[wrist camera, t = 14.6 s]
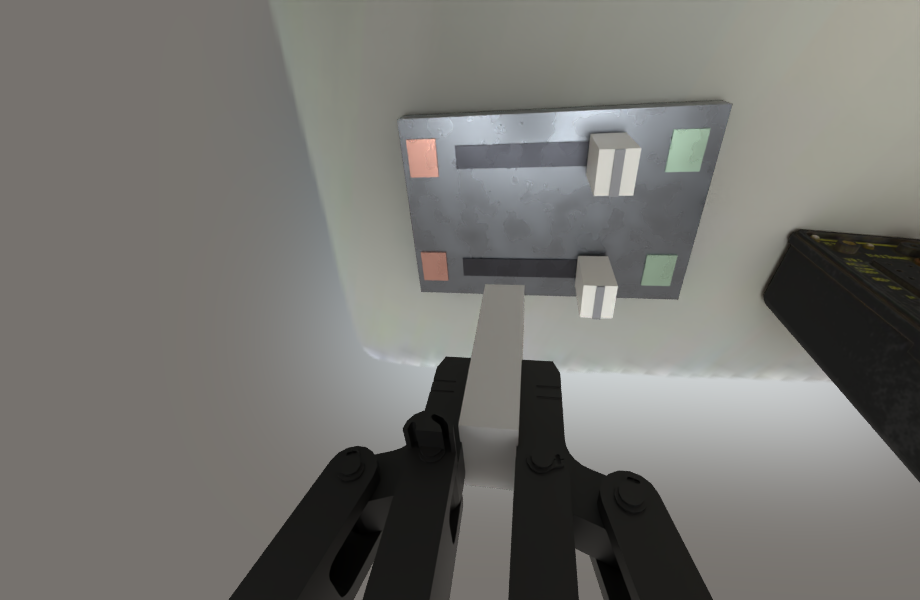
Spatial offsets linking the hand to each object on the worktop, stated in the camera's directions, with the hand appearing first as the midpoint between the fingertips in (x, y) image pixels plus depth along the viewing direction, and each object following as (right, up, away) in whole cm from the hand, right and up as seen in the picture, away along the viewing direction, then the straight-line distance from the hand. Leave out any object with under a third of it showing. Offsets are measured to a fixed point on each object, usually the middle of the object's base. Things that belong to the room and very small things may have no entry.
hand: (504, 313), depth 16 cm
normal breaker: (+9, +11, +14) cm, 20 cm away
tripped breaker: (+10, +3, +19) cm, 22 cm away
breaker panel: (+6, +9, +19) cm, 22 cm away
